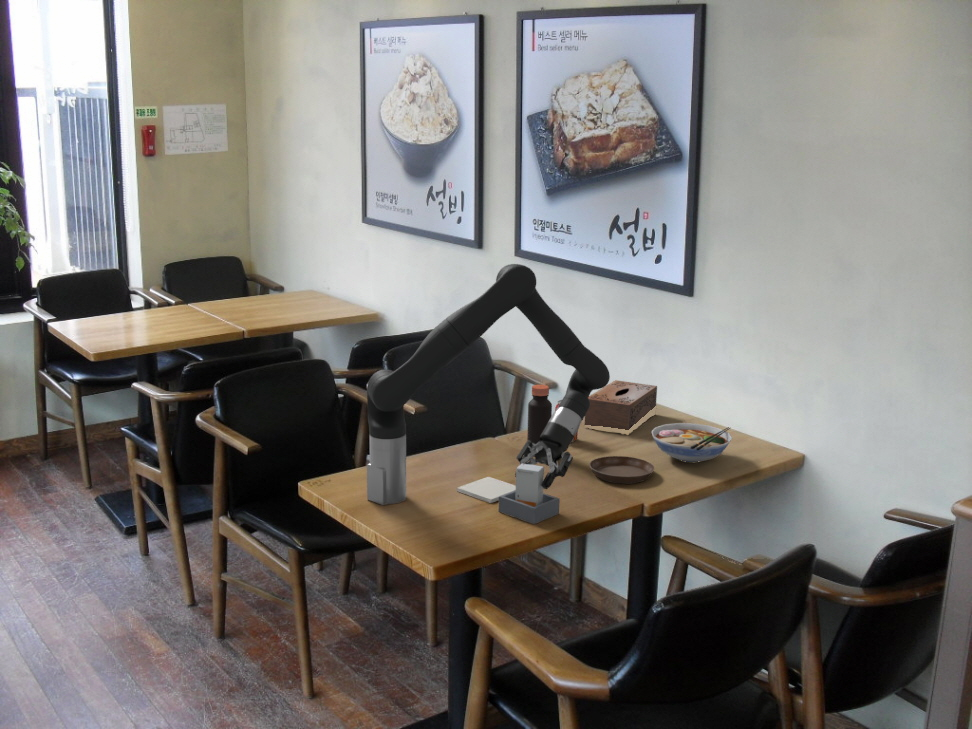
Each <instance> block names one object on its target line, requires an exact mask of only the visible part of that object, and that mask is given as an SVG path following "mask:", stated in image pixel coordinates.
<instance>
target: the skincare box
mask: <svg viewBox="0 0 972 729" xmlns="http://www.w3.org/2000/svg"><path fill="white" fill-rule="evenodd" d="M515 470H516V471H515V473H516V477H515V486H516V493H515V501H518V502H521V503H524V504H527V505H530V506H533V507H535V506H538V505H540V504H543V493H544V488H543V487H542V485H541V484H542V482H543V480H544V479H545V477H544V476H545V467H544V466H542V465H537V464H535V465H529V464H521V465H520V464H519V465H518V466H517V467H516V469H515Z"/></svg>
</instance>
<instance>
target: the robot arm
mask: <svg viewBox="0 0 972 729" xmlns="http://www.w3.org/2000/svg"><path fill="white" fill-rule="evenodd" d="M536 287H537V277H536V273H535V272H534V271H533V269H531V268H530V267H528V266H526V265H523V264H519V263H510V264H507V265H504V266H503V267H501V268H500V270H499V271H498V272H497V275H496V278H495V282H494V283H493V284H492V285H491V286H490V287H489V288H488V289H487V290H485V291H484V293H482V294H481V295H480V296H479V297H477V298H476V299H474V300H473V301H471V302H469V303H467V304H465V305H464V306H462V307H460V308H458V309H457V310H456V311H454V312H452V313H451V314H450V315H448V316H447V317H446V318H445V319H443V320H442V321H441V322H440V323H438V325H437V326H435V327H434V328H433V329H432V330H431V331H430V332H429V333H428V334H427V336H426V337H425V338H424V339H423V341H421V343H420V345H419V347H418V348H417V349H416V351H415V352H414V354H413V355H412V356H411V357H410V358H409V359H408V360H407V361H405V363H403V364H402V365H401V366H400V367H399V366H398V368H397V369H395V370H391V369H381V370H378V371H376V372H374V373H373V374H371V375H372V376H370V378H369V379H368V382H367V388H366V395H367V396H366V400H367V401H366V403H367V406H366V407H367V422H368V428H369V430H368V432H369V434H368V436H369V463H367V464H366V499H367V500H369V501H371V502H373V503H377V504H379V505H380V506H385V505H392V504H393V505H395V504H399V503H402V502H404V501H405V500H406V499H407V424H406V417H405V412H404V411H405V409H404V406H405V405H406V404H407V403H408V402H409V401H410V399H412V397H413V396H414V395H415V394H416V393H418V391H419V390H420V389H421V388H422V387H423V386H424V385H425V384H426V383H427V382H429V380H431V379H432V378H433V377H434V376H435V375H437V374H438V373H439V372H441V371H442V370H443V369H444V368H446V367H447V366H448V365H449V364H450V363H451V362H453V361H455V359H456V358H458V357H459V356H460V355H462V354H463V353H464V352H465V351H466V350H467V349H469V347H471V346H472V345H473V344H474V343H475V342H476V341H477V340H479V338H480V337H482V336H483V335H484V334H485V333H486V332H487V331H488V330H489V329H490V328H491V327H492V326H493V325H494V324H495V323H496V322H497V321H499V319H501V318H502V317H503V316H504V315H505V314H507V313H509V312H510V311H511V310H513V309H514V308H517V309H518V310H519V311H520V312H521V313H522V314H523V316H524V317H525V318H527V320H528V321H529V323H531V324H532V325H533V327H534V328H535V330H536V331H537V332H538V334H539V335H540V336H541V337H542V338H543V340H544V342H545V343H546V344H547V345H548V346H549V348H550V349H551V350H552V352H554V354H555V355H556V357H558V359H559V360H560V361H561V362H562V363H563V364H564V365H566V366H571V367H573V368H574V369H575V370H574V371H573V373H572V375H571V376H570V379H569V381H568V383H567V384H568V385H567V388H566V391H565V395H564V396H563V397H562V399H561V400H562V401H561V403H560V405H559V406H558V408H557V409H556V411H555V410H554V412H553V413H552V416H551V418H550V420H549V422H548V423H547V425H546V427H545V429H544V430H543V432H542V434H541V436H540V441H539V442H538V443H537V444H534V443H532V442H531V441H530V440H528V441H527V440H526V442H525V444H524V445H523V447H522V448H521V450H520V451H519V453H518V454H517V456H516V460H517V461H518V463H519V465H521V464H529V465H537V464H542V465H545V466H546V467H547V466H548V469H549V472H547V473H546V475H545V477H544V479H543V482H542V484H541V485H542V487H543V490H544V489H545V490H548V489H549V488H550V487H551V486H552V484H553V482H554V481H555V479H556V478H557V477H561V478H563V477H565V476H566V474H567V472H568V470H569V467H570V466H571V464H572V462H573V460H574V457H573V455H572V454H571V453H570V452H569V451H567V450H568V449H569V447H570V445H571V442H572V440H573V438H574V436H575V434H576V433H577V431H578V432H579V429H580V426H581V424H582V422H583V420H584V419H585V415H586V413H587V411H588V409H589V406H590V400H589V399H588V397H589V396H590V395H591V393H592V392H593V391H594V390H600V389H602V388H603V387H605V386H607V385H608V384H609V382H610V378H611V376H610V370H609V369H608V366H607V365H606V363H605V362H604V361H603V360H602V359H601V358H600V357H599V356H597V354H595V353H594V352H593V351H592V350H591V349H589V348H587V347H586V346H585V345H584V343H582V341H581V340H580V338H579V337H578V336H577V335H576V334H575V332H574V331H573V330H572V329H571V327H569V325H568V324H567V323H566V322H565V321H564V320H563V319H562V318H561V317H560V316H559V315H558V314H557V313H556V312H555V311H554V310H553V309H552V308H551V307H550V306H549V305H548V304H547V302H546V301H545V300H544V299H543V297H542V296H541V295H540V293H539V291H538V289H537V288H536ZM572 443H573V442H572ZM558 461H560V462H559V463H558ZM514 477H515V478H516V472H515V474H514Z"/></svg>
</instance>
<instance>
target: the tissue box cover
mask: <svg viewBox="0 0 972 729" xmlns="http://www.w3.org/2000/svg"><path fill="white" fill-rule="evenodd" d="M657 394H658V386H657V385H651V384H645V383H639V382H631V381H625V380H617V379H615V380H613V381H612V382H610V383H608V384H607V385H606V386H605V387H603V388H601V389H598V390H597V391H596V392H593V393H592V394H590V395H589V397H588V399H589V400H590V406H589V409H588V411H587V413H586V415H585V416H584V425H591V426H603V427H611V428H618V429H625V430H629V429H630V428H631V427H632V426H633V425H634V424H636V423H637V422H638V421H639V420H640V419H641V418H642V417H644V416H645V415H646V414H647V413H648V412H649V411H650V410H652V409H653V408H654V407H655V406H656V407H657V398H658V396H657Z"/></svg>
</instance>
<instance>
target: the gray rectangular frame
mask: <svg viewBox="0 0 972 729" xmlns="http://www.w3.org/2000/svg"><path fill="white" fill-rule="evenodd" d="M515 493H516V490H514V491H512V492H509V493H507V494H504V495H501V496H499V500H498V512H499V513H502V514H505V515H507V516H511V517H513V518H516V519H519V520H521V521H523V522H524V521H525V522H527V523H529V524H532V525H536V524H538V523H540V522H542V521H545V520H547V519H550V518H552V517H555V516H557V515H559V514H560V498H559V497H556V496H553V495H550V494H547V493H544V492H543V504H540V505H538V506H535V507H533V506H530V505H527V504H524V503H521V502H518V501H515Z"/></svg>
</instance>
